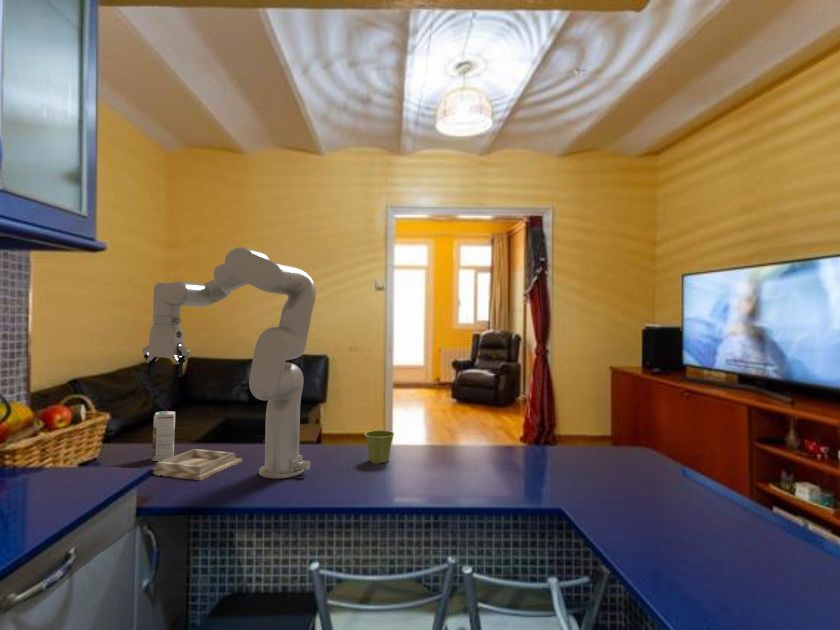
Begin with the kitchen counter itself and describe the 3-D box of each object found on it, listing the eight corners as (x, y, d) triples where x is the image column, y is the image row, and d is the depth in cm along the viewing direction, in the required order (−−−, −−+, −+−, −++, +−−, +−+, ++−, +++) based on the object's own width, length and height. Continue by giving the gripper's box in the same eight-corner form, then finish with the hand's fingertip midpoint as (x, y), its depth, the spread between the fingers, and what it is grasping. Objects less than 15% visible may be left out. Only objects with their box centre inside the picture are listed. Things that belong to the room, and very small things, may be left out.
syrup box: (153, 457, 147) (154, 411, 147) (174, 455, 150) (175, 410, 150) (151, 462, 142) (152, 415, 142) (173, 460, 144) (174, 413, 145)
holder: (242, 461, 144) (242, 452, 144) (200, 480, 127) (200, 469, 127) (193, 456, 149) (193, 447, 149) (147, 473, 131) (147, 463, 131)
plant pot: (359, 463, 144) (359, 435, 144) (371, 455, 153) (371, 429, 153) (387, 466, 141) (387, 438, 141) (397, 458, 150) (398, 431, 150)
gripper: (198, 322, 148) (196, 376, 148) (153, 321, 152) (152, 373, 152) (180, 322, 141) (178, 378, 140) (134, 321, 145) (132, 376, 145)
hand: (165, 376), depth 146 cm, fingers open, 9 cm apart
